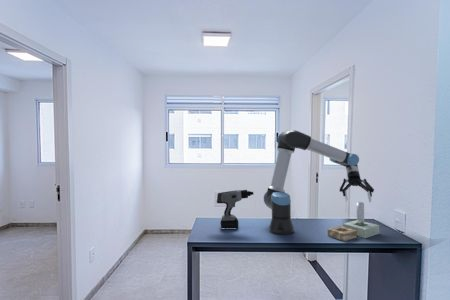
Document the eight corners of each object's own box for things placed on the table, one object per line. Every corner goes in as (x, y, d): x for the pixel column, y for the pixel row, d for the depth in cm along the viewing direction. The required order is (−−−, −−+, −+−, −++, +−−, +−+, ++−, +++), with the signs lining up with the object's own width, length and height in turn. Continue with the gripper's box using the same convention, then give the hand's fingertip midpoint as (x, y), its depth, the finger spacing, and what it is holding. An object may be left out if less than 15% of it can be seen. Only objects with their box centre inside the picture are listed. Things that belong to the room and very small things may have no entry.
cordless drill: (254, 229, 175) (253, 190, 175) (216, 229, 176) (215, 191, 175) (253, 225, 183) (252, 188, 183) (217, 226, 184) (216, 189, 183)
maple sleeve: (327, 235, 160) (327, 229, 160) (339, 232, 165) (339, 225, 165) (344, 241, 150) (344, 234, 150) (356, 237, 156) (356, 230, 156)
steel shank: (355, 232, 164) (355, 202, 164) (359, 231, 167) (359, 201, 166) (361, 234, 161) (361, 203, 161) (365, 232, 163) (365, 203, 163)
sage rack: (343, 231, 166) (343, 223, 166) (357, 227, 173) (357, 219, 173) (365, 238, 154) (364, 229, 154) (379, 233, 161) (378, 225, 161)
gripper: (372, 177, 184) (379, 204, 170) (333, 177, 191) (336, 203, 177) (374, 170, 179) (381, 197, 165) (334, 170, 186) (337, 196, 171)
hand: (358, 200), depth 171 cm, fingers open, 13 cm apart
